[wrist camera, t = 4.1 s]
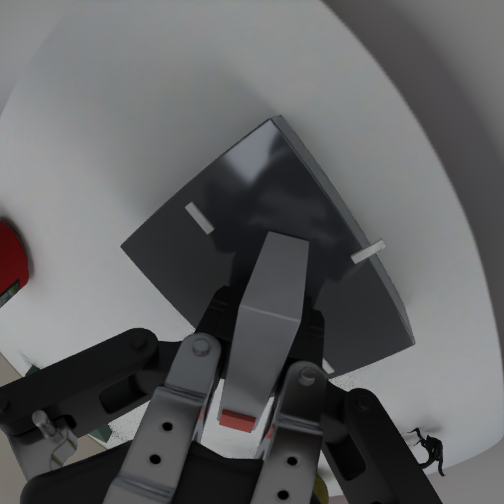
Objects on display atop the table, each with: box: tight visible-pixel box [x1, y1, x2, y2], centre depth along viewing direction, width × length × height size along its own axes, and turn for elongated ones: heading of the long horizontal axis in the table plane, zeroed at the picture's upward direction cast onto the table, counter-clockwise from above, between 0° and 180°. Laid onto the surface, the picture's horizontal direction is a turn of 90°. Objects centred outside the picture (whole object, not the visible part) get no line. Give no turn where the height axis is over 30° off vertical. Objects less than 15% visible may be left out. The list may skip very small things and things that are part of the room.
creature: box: [402, 428, 444, 476], centre depth 20 cm, size 8×5×8 cm
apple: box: [313, 475, 329, 504], centre depth 26 cm, size 8×8×7 cm
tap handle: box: [217, 231, 309, 433], centre depth 11 cm, size 6×2×5 cm, turn 170°
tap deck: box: [120, 115, 415, 397], centre depth 14 cm, size 12×11×3 cm
